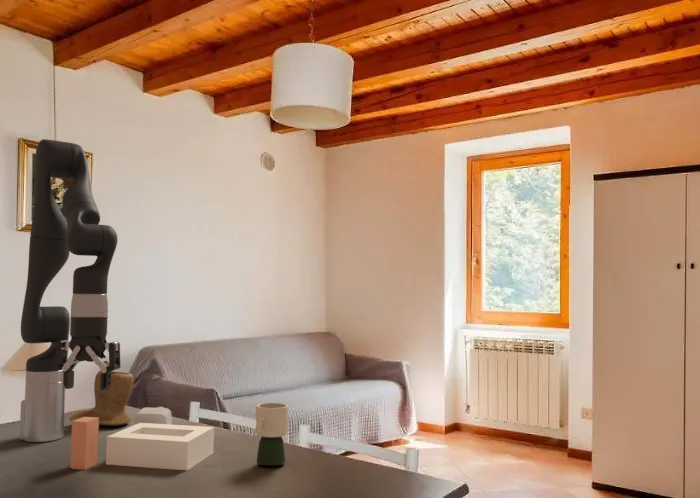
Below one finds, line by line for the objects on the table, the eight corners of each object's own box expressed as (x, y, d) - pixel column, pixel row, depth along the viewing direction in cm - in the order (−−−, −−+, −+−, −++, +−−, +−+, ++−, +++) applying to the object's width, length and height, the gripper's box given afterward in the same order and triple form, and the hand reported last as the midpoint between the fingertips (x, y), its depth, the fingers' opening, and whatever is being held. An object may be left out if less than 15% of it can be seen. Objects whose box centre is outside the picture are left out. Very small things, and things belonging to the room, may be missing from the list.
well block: (106, 464, 136) (107, 436, 137) (139, 447, 150) (139, 422, 150) (187, 470, 133) (188, 441, 133) (213, 452, 147) (214, 427, 147)
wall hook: (183, 432, 164) (181, 396, 162) (168, 452, 154) (165, 414, 152) (154, 431, 164) (151, 395, 163) (137, 451, 154) (133, 413, 153)
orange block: (70, 468, 133) (71, 421, 134) (82, 462, 138) (84, 416, 138) (85, 469, 133) (86, 421, 133) (97, 463, 137) (98, 417, 138)
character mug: (270, 456, 144) (271, 399, 145) (297, 460, 141) (298, 402, 142) (243, 469, 134) (244, 408, 135) (270, 473, 131) (272, 411, 132)
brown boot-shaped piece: (141, 421, 178) (143, 368, 179) (114, 430, 167) (116, 374, 168) (96, 417, 183) (98, 366, 183) (67, 426, 171) (69, 371, 172)
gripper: (49, 314, 135) (46, 390, 134) (109, 315, 132) (106, 393, 131) (70, 313, 142) (68, 385, 141) (128, 314, 139) (126, 387, 138)
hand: (86, 389), depth 136 cm, fingers open, 8 cm apart
